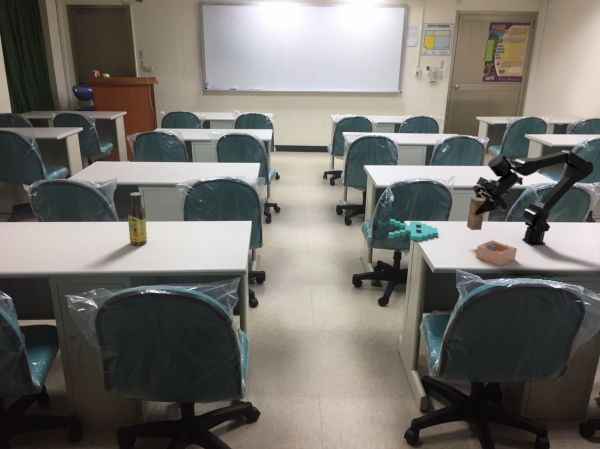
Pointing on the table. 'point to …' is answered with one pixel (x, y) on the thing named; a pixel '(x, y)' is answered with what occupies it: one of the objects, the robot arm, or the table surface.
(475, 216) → the walnut stick
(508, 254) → the box
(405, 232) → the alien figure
